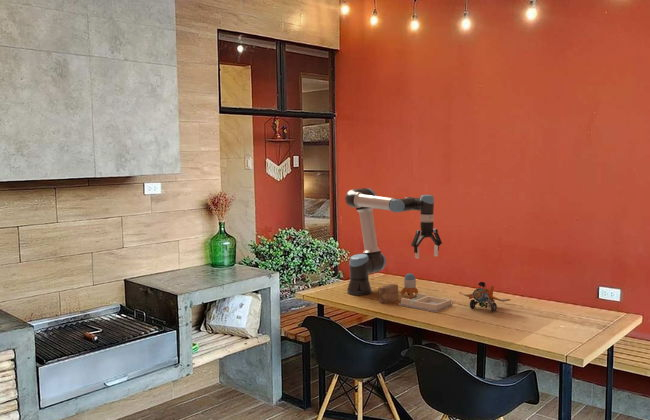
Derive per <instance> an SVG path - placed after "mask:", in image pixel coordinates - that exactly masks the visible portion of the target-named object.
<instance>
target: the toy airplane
mask: <svg viewBox="0 0 650 420" xmlns="http://www.w3.org/2000/svg"><path fill="white" fill-rule="evenodd" d="M494 288H495V287H494V285H492V286H490V289H488V288H487V287H486V282H484V281H480V282H478V288H476V289H474V291H473V292H472V293H468V294H465V293H463V292H460V291H459V292H458V294H461V295H462V296H464V297H468V299H469V300H470V301H469V308H470V309H472V310H473V309H476V308H475V307H476V306H477V304H478V306H479V307H480V308H484V309H488V307H489V308H490V311H491V312H492V313H495V312H496V311H497V309H498V308H497V306H498V305H497V303H496V302H495V301H499V302H503V303H504V302H508V301H512V299H511V298H510V299H509V298H508V299H507V298H504V299H501V298H498V297H495V296H494Z"/></svg>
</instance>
